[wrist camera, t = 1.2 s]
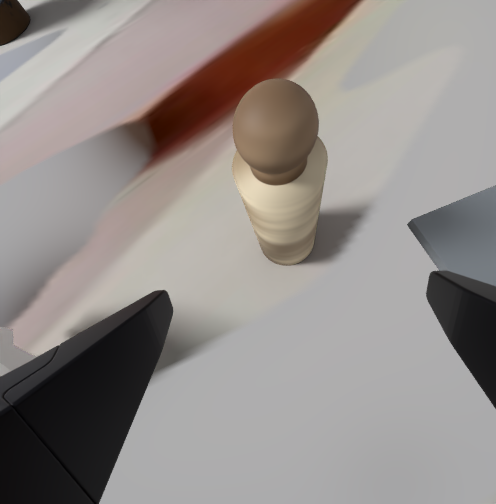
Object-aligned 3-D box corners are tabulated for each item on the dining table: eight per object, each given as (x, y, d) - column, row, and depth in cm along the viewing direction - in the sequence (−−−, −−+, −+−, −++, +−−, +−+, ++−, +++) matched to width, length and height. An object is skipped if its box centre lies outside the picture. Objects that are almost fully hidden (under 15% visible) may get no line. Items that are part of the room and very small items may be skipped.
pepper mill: (323, 252, 22) (367, 106, 8) (271, 273, 23) (230, 164, 9) (300, 208, 24) (304, 28, 10) (252, 228, 24) (193, 78, 11)
